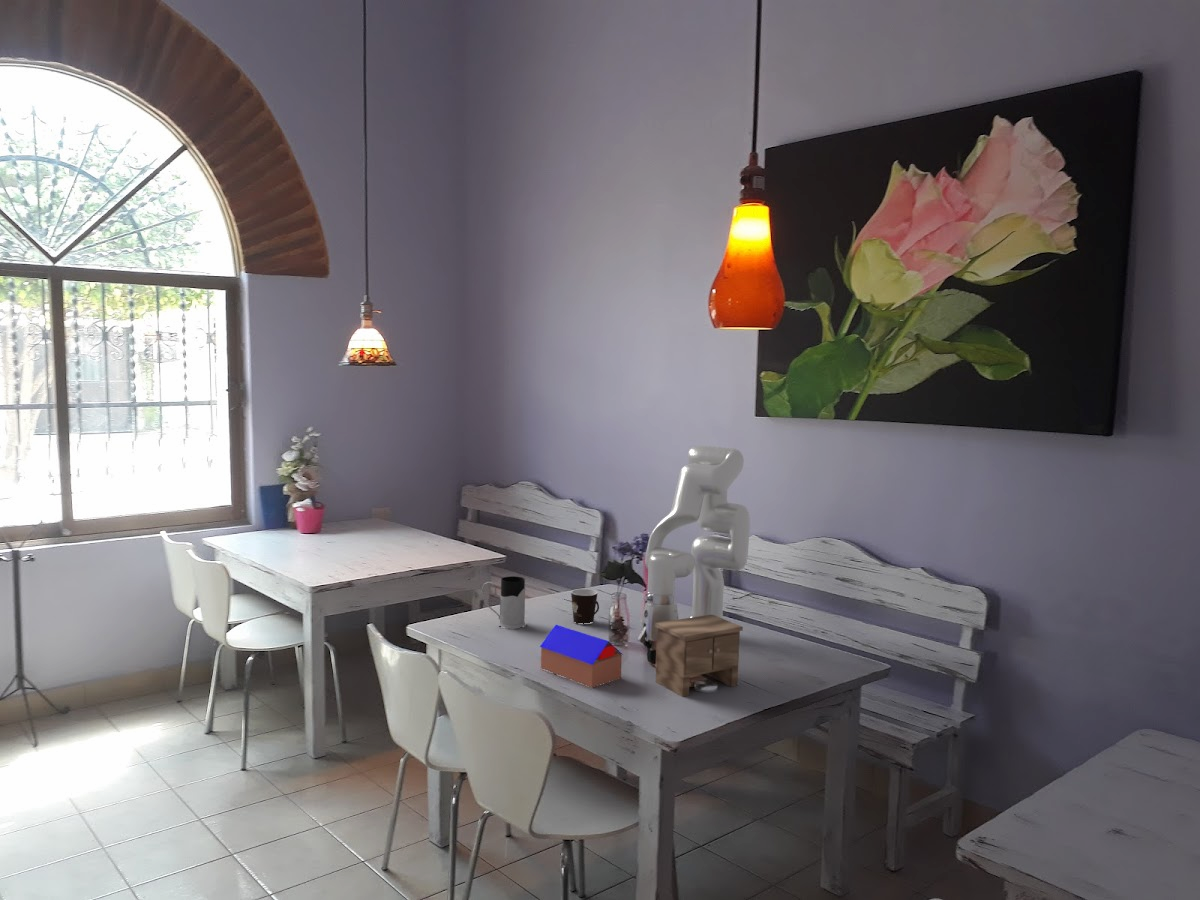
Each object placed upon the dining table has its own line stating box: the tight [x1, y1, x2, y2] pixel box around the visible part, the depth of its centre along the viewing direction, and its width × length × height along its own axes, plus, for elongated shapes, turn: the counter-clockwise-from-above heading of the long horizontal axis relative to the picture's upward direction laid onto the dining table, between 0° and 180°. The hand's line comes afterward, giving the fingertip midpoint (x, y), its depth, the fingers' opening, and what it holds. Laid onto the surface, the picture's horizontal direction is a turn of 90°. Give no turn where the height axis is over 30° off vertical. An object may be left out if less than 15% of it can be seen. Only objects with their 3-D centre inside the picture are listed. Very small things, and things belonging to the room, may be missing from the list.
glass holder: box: [481, 575, 526, 629], centre depth 288 cm, size 9×14×15 cm, turn 88°
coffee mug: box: [570, 588, 600, 624], centre depth 293 cm, size 12×9×10 cm
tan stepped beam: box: [646, 641, 707, 687], centre depth 249 cm, size 22×5×7 cm, turn 31°
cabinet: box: [655, 615, 744, 698], centre depth 240 cm, size 14×19×16 cm
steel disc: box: [693, 679, 719, 694], centre depth 237 cm, size 6×6×2 cm
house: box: [539, 624, 624, 688], centre depth 245 cm, size 12×20×12 cm, turn 47°
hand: (658, 661), depth 256 cm, fingers closed on tan stepped beam, 4 cm apart
